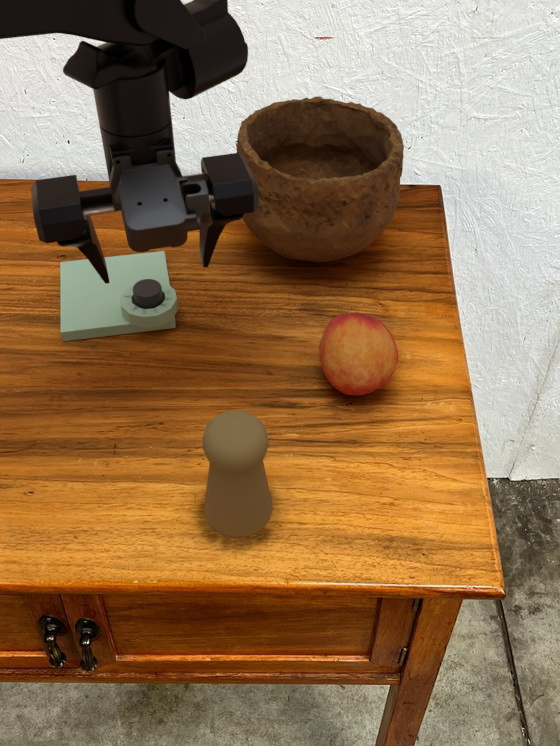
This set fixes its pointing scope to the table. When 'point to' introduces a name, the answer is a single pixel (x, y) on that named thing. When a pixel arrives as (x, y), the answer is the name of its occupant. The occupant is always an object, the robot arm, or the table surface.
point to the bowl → (321, 176)
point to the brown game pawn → (236, 474)
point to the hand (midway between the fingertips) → (156, 272)
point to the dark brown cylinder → (147, 293)
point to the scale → (113, 297)
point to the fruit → (357, 353)
